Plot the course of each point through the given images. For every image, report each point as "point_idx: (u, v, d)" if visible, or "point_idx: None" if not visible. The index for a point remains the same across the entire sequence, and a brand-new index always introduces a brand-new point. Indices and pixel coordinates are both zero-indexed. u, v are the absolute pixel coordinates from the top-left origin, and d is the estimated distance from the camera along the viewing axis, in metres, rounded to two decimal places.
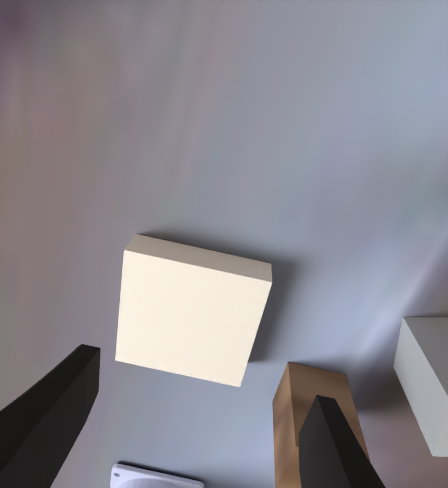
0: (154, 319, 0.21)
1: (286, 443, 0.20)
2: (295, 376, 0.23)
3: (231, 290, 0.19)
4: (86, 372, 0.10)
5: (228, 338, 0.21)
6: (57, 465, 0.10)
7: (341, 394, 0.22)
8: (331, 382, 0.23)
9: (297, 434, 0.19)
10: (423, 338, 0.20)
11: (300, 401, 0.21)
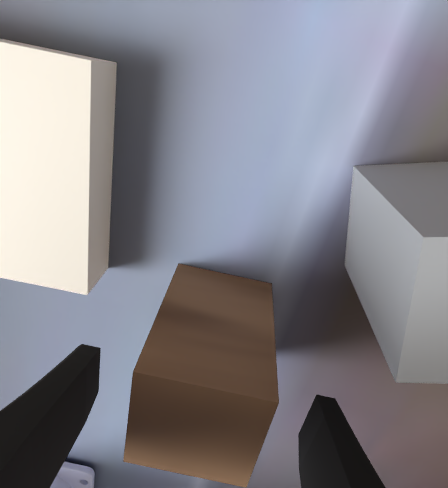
0: None
1: None
2: (182, 280, 0.14)
3: (24, 86, 0.10)
4: (86, 372, 0.10)
5: (45, 196, 0.12)
6: (57, 465, 0.10)
7: (255, 305, 0.13)
8: (242, 290, 0.14)
9: (146, 353, 0.10)
10: (382, 180, 0.11)
11: (176, 309, 0.12)
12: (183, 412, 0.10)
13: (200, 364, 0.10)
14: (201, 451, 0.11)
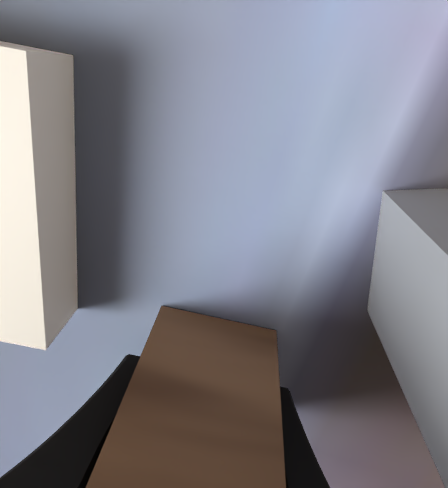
0: None
1: None
2: (165, 331, 0.11)
3: None
4: None
5: None
6: None
7: (256, 366, 0.10)
8: (240, 343, 0.11)
9: (105, 458, 0.07)
10: (429, 216, 0.08)
11: (153, 379, 0.09)
12: None
13: (180, 473, 0.07)
14: None
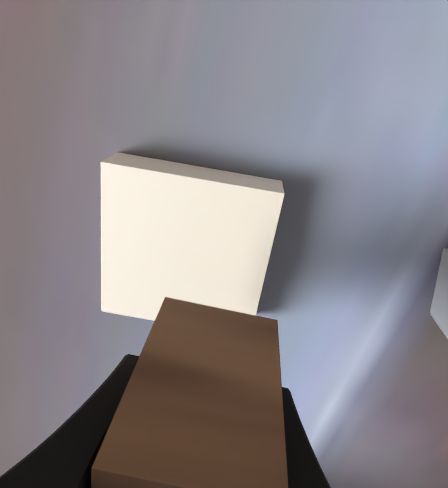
0: (143, 254, 0.17)
1: None
2: (168, 320, 0.11)
3: (235, 208, 0.16)
4: None
5: (234, 274, 0.17)
6: None
7: (257, 353, 0.11)
8: (241, 332, 0.11)
9: (113, 436, 0.08)
10: None
11: (157, 364, 0.10)
12: None
13: (184, 450, 0.08)
14: None
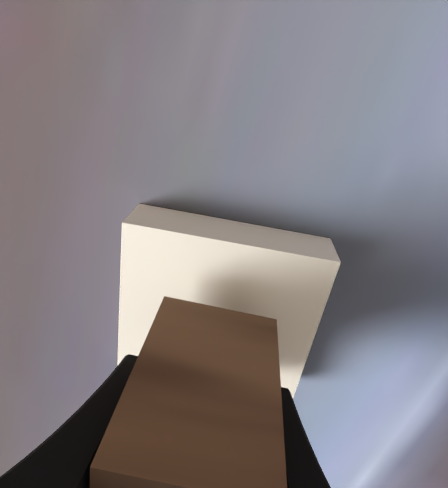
0: None
1: None
2: (167, 319, 0.11)
3: (280, 277, 0.13)
4: None
5: None
6: None
7: (256, 352, 0.11)
8: (241, 331, 0.11)
9: (111, 435, 0.08)
10: None
11: (156, 363, 0.10)
12: None
13: (183, 449, 0.08)
14: None
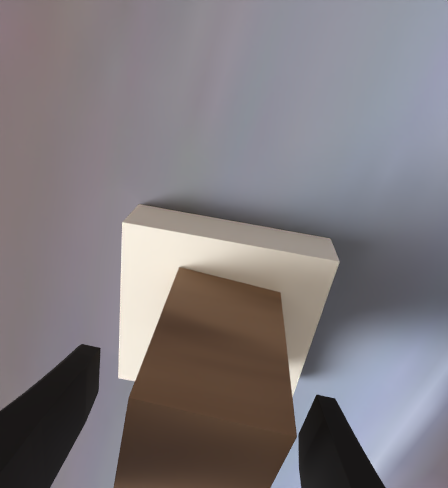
0: None
1: None
2: (184, 286, 0.12)
3: (279, 276, 0.13)
4: (86, 372, 0.10)
5: None
6: (57, 465, 0.10)
7: (264, 317, 0.12)
8: (249, 300, 0.13)
9: (144, 374, 0.09)
10: None
11: (177, 321, 0.11)
12: (184, 443, 0.09)
13: (206, 388, 0.09)
14: (203, 485, 0.09)
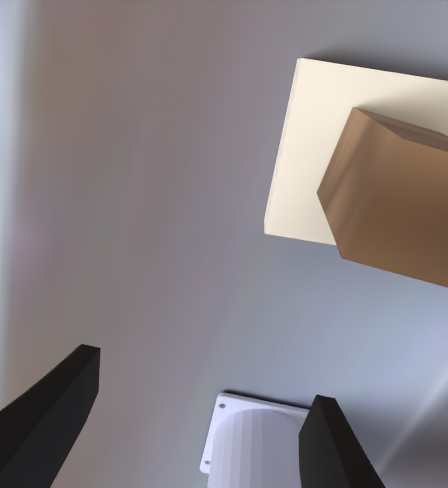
0: (325, 165, 0.16)
1: (367, 176, 0.11)
2: (369, 113, 0.14)
3: (439, 108, 0.15)
4: (86, 372, 0.10)
5: None
6: (57, 465, 0.10)
7: (445, 138, 0.14)
8: (424, 129, 0.14)
9: (399, 134, 0.10)
10: None
11: (387, 124, 0.12)
12: (432, 192, 0.10)
13: None
14: (429, 244, 0.11)
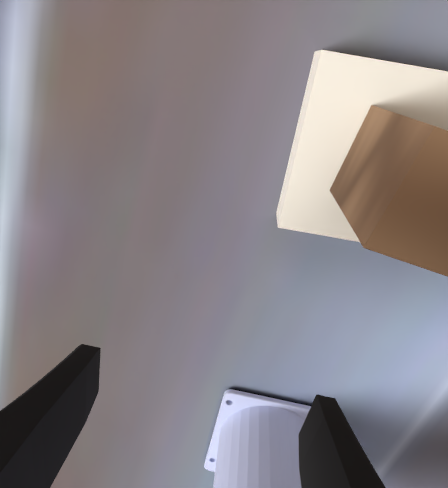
0: (341, 159, 0.16)
1: (392, 166, 0.11)
2: None
3: None
4: (86, 372, 0.10)
5: None
6: (57, 465, 0.10)
7: None
8: None
9: None
10: None
11: None
12: None
13: None
14: None
